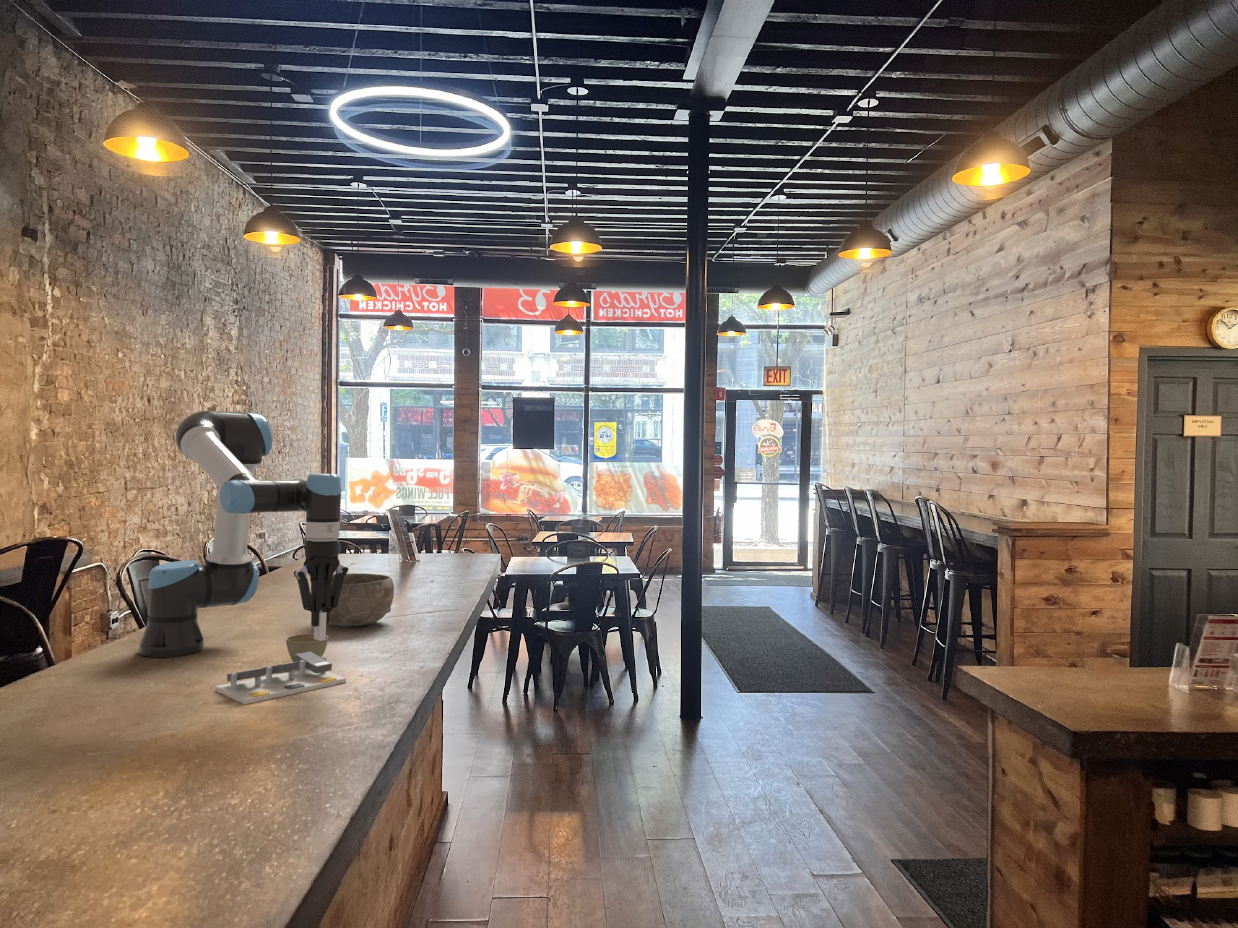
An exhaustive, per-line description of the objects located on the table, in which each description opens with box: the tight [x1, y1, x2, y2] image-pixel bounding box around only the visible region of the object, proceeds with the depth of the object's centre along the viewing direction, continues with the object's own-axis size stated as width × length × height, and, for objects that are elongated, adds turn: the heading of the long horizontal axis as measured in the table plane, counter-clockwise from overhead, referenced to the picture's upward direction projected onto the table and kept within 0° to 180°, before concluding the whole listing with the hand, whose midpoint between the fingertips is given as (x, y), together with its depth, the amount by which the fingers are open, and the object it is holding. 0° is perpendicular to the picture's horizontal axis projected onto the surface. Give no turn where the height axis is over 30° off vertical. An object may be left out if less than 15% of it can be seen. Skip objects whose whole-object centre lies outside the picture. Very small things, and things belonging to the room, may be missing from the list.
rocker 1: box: [226, 667, 266, 682], centre depth 180 cm, size 10×4×2 cm, turn 50°
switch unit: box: [215, 655, 347, 705], centre depth 185 cm, size 14×24×5 cm, turn 140°
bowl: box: [320, 572, 395, 627], centre depth 251 cm, size 24×24×15 cm
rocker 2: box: [263, 661, 300, 674], centre depth 186 cm, size 10×4×2 cm, turn 50°
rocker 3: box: [294, 651, 333, 673], centre depth 192 cm, size 10×4×2 cm, turn 50°
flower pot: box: [285, 633, 329, 669], centre depth 203 cm, size 10×10×7 cm
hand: (319, 639), depth 189 cm, fingers closed
